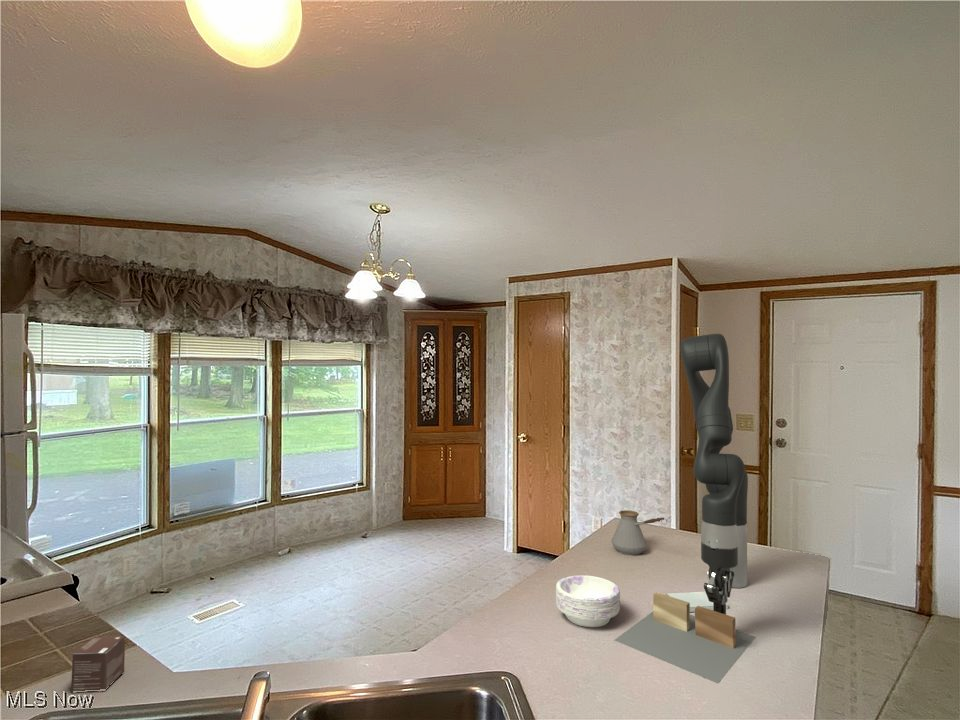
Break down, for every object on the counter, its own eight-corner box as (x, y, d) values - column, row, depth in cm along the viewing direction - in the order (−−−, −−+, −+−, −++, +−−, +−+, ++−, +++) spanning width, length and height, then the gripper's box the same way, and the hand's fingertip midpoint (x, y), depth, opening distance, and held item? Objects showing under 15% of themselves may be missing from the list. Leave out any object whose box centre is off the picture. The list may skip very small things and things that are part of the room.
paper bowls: (572, 599, 132) (571, 568, 132) (628, 615, 123) (628, 582, 123) (544, 622, 119) (544, 588, 120) (605, 642, 110) (605, 605, 111)
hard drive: (684, 606, 123) (728, 603, 126) (665, 593, 131) (707, 590, 134) (684, 613, 123) (728, 610, 126) (665, 599, 131) (707, 596, 134)
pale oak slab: (656, 617, 121) (656, 592, 121) (689, 628, 116) (689, 602, 116) (653, 619, 120) (653, 594, 120) (686, 631, 114) (686, 605, 114)
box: (92, 674, 97) (93, 636, 98) (125, 673, 98) (126, 635, 98) (69, 694, 91) (71, 653, 92) (104, 692, 92) (105, 652, 92)
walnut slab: (698, 631, 114) (697, 605, 114) (736, 644, 109) (735, 617, 108) (695, 634, 113) (694, 608, 113) (733, 648, 107) (732, 621, 107)
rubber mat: (661, 606, 128) (661, 604, 128) (756, 638, 112) (756, 636, 112) (614, 641, 110) (614, 639, 111) (717, 685, 95) (717, 683, 95)
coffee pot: (604, 548, 171) (604, 504, 171) (629, 543, 176) (629, 500, 176) (652, 570, 152) (651, 520, 152) (678, 563, 157) (678, 515, 157)
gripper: (712, 531, 121) (713, 604, 120) (690, 544, 111) (691, 623, 110) (746, 539, 115) (747, 615, 115) (726, 553, 106) (727, 636, 105)
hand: (719, 619), depth 113 cm, fingers closed
